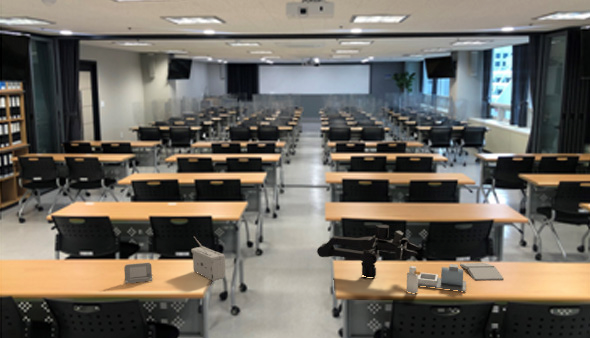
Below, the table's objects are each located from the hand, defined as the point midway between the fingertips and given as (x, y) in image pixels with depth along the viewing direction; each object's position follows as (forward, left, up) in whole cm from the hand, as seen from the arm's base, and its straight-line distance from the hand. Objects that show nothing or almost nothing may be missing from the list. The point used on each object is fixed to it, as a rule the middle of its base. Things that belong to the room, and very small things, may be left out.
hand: (418, 251), depth 252 cm
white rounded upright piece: (-1, -13, -17) cm, 21 cm away
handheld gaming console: (-136, -41, -17) cm, 143 cm away
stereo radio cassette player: (-105, -24, -17) cm, 109 cm away
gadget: (+30, +26, -17) cm, 43 cm away
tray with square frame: (+11, +1, -17) cm, 20 cm away
